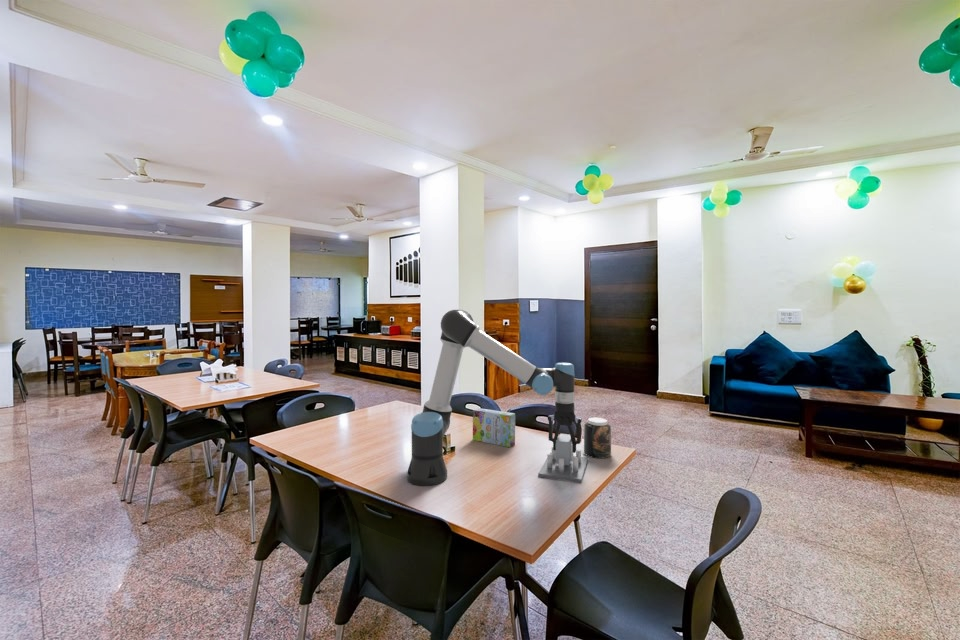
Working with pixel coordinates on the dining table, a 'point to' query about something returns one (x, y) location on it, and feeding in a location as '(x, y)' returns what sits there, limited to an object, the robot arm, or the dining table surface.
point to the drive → (563, 448)
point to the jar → (597, 438)
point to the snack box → (494, 427)
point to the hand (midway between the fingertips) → (564, 459)
